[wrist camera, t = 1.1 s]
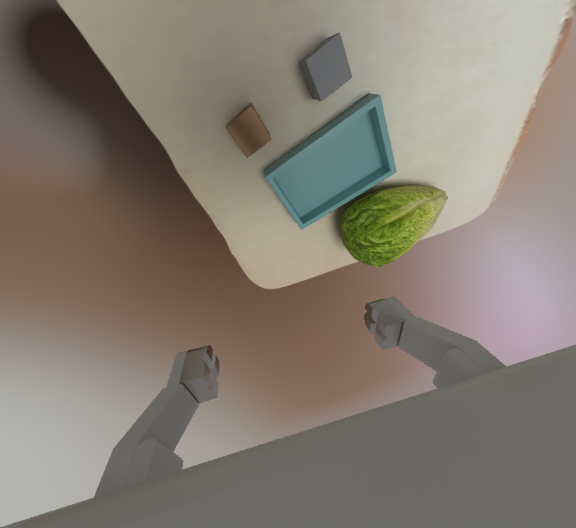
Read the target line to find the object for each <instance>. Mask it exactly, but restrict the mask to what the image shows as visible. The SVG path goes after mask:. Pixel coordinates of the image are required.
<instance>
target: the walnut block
mask: <svg viewBox="0 0 576 528" xmlns="http://www.w3.org/2000/svg"><path fill="white" fill-rule="evenodd" d="M226 129H227V131H228V132H229V134H230V135H231V136H232V138H233V139H234V141H235V142H236V143H237V145H238V146H239V148H240V149H241V150H242V152H243V153H244V155H245V156H246V158H248V157H249V156H250V155H252V154H253V153H254V152H255V151H257V150H258V149H259V148H261V147H262V146H263V145H265V144H266V143H267V142H268V141H270V140H271V137H270V134H269V132H268V131H267V129H266V127H265V126H264V124H263V122H262V120H261V119H260V117H259V115H258V114H257V112H256V110H255V108H254V107H253V105H252V103H251V104H250V105H248V106H247V107H246V108H245V109H244V110H242V111H241V112H240V113H239V114H238V115H237V116H235V117H234V118H233V119H232V120H231V121H229V122H228V123H227V126H226Z"/></svg>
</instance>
